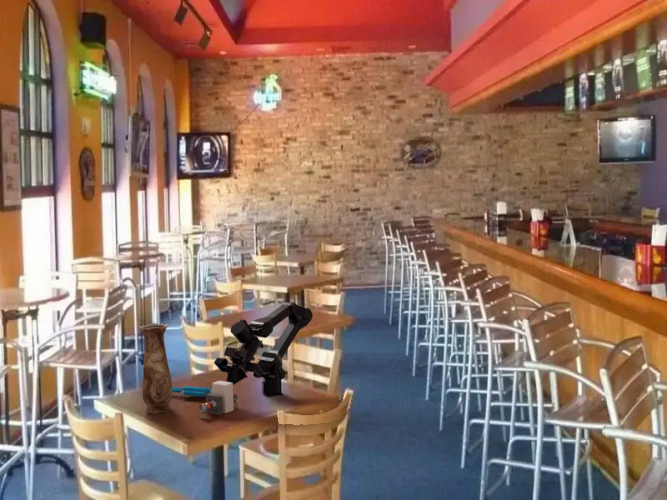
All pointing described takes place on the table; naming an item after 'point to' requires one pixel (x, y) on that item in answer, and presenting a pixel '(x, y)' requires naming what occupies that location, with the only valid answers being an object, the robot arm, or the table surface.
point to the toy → (193, 391)
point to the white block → (224, 394)
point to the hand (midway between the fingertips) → (227, 387)
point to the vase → (156, 370)
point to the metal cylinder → (213, 407)
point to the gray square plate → (218, 401)
